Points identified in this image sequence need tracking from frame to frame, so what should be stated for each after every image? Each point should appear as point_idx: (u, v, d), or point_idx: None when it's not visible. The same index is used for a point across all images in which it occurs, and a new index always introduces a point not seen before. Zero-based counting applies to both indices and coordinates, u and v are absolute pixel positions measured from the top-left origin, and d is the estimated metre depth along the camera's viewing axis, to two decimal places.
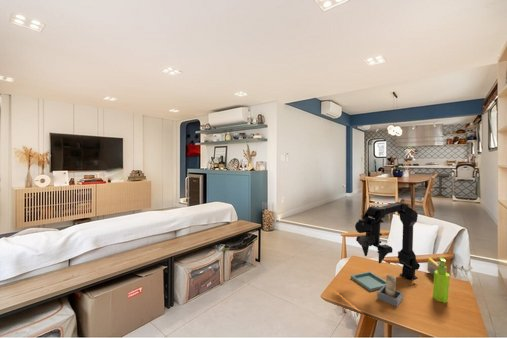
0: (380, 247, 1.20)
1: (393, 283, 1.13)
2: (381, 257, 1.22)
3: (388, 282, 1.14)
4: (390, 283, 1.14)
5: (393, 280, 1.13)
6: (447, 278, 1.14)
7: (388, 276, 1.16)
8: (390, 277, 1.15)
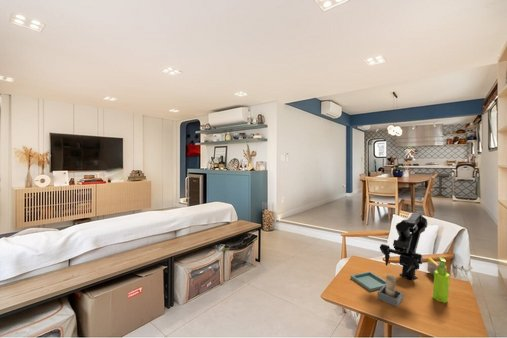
0: (415, 253, 1.18)
1: (393, 283, 1.13)
2: (411, 265, 1.18)
3: (388, 282, 1.14)
4: (390, 283, 1.14)
5: (393, 280, 1.13)
6: (447, 278, 1.14)
7: (388, 276, 1.16)
8: (390, 277, 1.15)
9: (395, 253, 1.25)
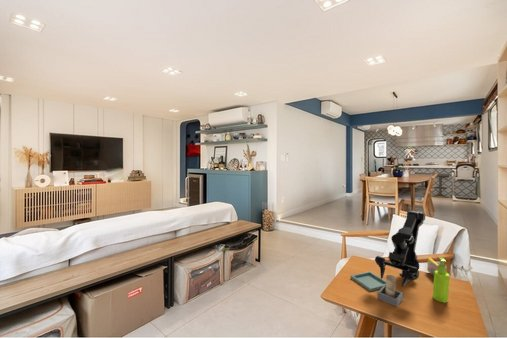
0: (411, 266, 1.14)
1: (393, 283, 1.13)
2: (406, 279, 1.13)
3: (388, 282, 1.14)
4: (390, 283, 1.14)
5: (393, 280, 1.13)
6: (447, 278, 1.14)
7: (388, 276, 1.16)
8: (390, 277, 1.15)
9: (391, 266, 1.21)
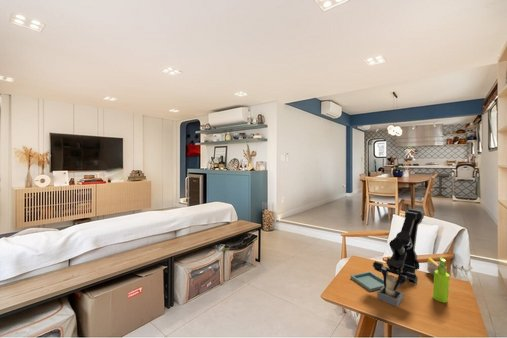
0: (409, 272, 1.12)
1: (393, 283, 1.13)
2: (399, 283, 1.14)
3: (388, 282, 1.14)
4: (390, 283, 1.14)
5: (393, 280, 1.13)
6: (447, 278, 1.14)
7: (388, 276, 1.16)
8: (390, 277, 1.15)
9: (389, 271, 1.20)
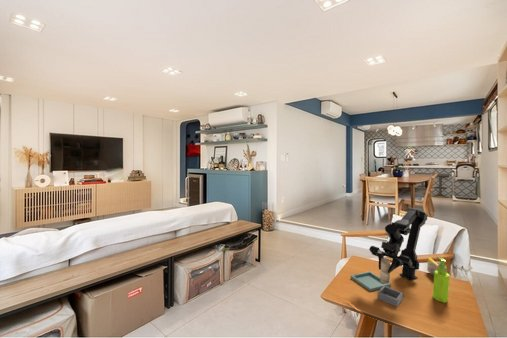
0: (404, 256, 1.15)
1: (387, 266, 1.16)
2: (393, 266, 1.16)
3: (382, 265, 1.17)
4: (384, 266, 1.17)
5: (387, 263, 1.16)
6: (447, 278, 1.14)
7: (383, 259, 1.19)
8: (384, 260, 1.18)
9: (384, 255, 1.22)
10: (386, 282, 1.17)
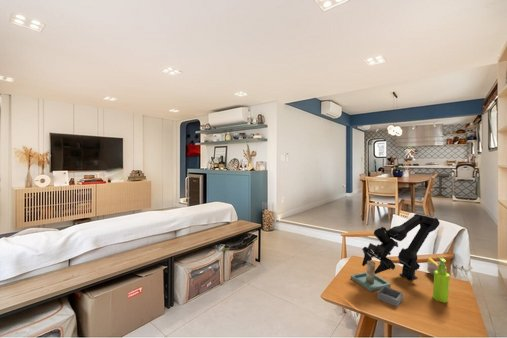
0: (386, 258, 1.24)
1: (371, 267, 1.29)
2: (380, 268, 1.25)
3: (367, 266, 1.30)
4: (368, 267, 1.29)
5: (371, 265, 1.29)
6: (447, 278, 1.14)
7: (369, 261, 1.31)
8: (369, 262, 1.30)
9: (374, 256, 1.33)
10: (369, 282, 1.29)
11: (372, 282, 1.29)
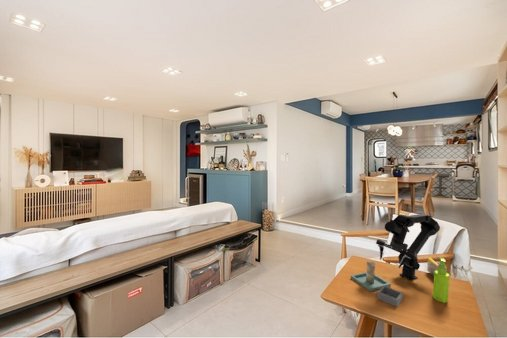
0: (410, 253, 1.26)
1: (371, 267, 1.29)
2: (403, 262, 1.28)
3: (367, 266, 1.30)
4: (368, 267, 1.30)
5: (370, 265, 1.29)
6: (447, 278, 1.14)
7: (368, 261, 1.31)
8: (369, 262, 1.30)
9: None
10: (369, 282, 1.29)
11: (372, 282, 1.29)
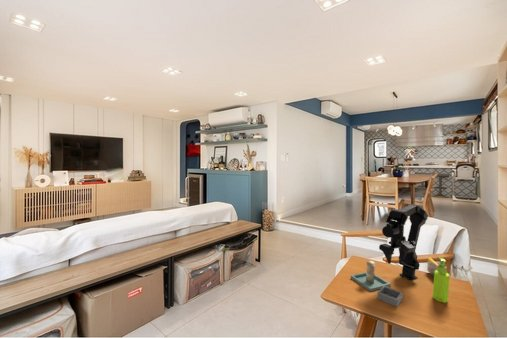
0: None
1: (371, 267, 1.29)
2: None
3: (367, 266, 1.30)
4: (368, 267, 1.30)
5: (370, 265, 1.29)
6: (447, 278, 1.14)
7: (368, 261, 1.31)
8: (369, 262, 1.30)
9: (393, 248, 1.27)
10: (369, 282, 1.29)
11: (372, 282, 1.29)
